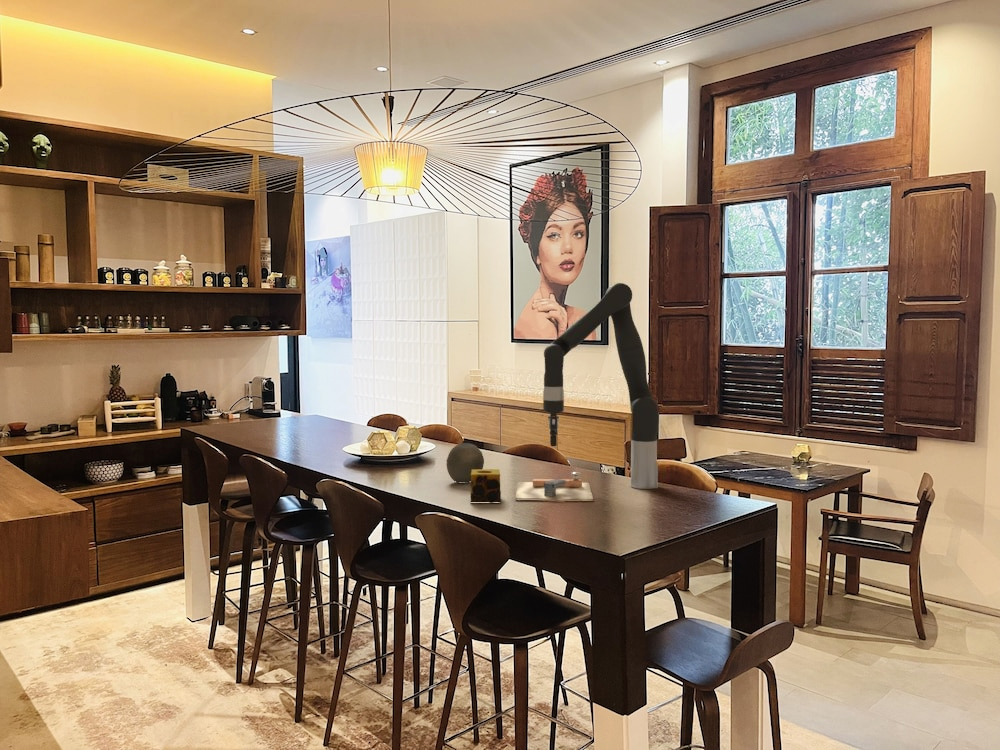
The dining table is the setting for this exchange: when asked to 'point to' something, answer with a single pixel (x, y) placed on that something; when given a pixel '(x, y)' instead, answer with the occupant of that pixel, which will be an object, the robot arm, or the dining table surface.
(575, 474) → the silver metal ball
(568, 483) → the link
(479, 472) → the candle
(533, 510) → the dining table surface
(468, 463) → the dark grey ball
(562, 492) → the board
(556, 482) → the block
